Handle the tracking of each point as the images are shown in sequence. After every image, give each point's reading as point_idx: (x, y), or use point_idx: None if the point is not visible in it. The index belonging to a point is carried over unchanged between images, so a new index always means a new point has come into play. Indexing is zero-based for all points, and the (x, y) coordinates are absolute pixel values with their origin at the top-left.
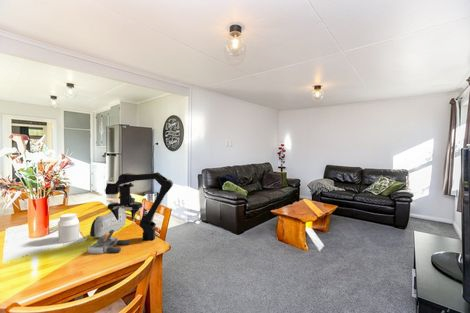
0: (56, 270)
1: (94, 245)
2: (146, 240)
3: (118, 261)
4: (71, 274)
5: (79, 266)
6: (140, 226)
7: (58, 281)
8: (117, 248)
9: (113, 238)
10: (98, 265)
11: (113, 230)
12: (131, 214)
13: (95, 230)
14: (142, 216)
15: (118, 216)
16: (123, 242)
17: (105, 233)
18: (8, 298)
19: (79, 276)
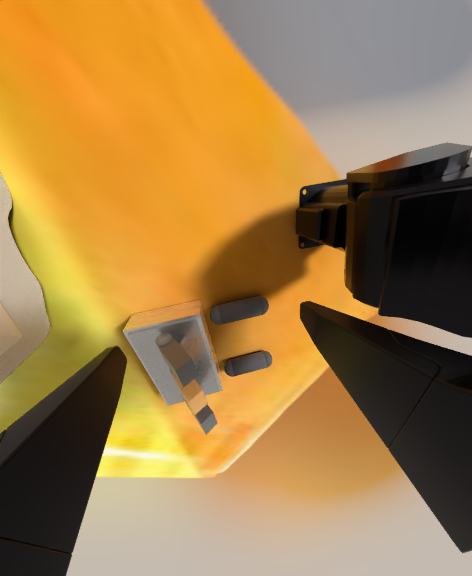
0: (184, 439)
1: (176, 394)
2: (319, 242)
3: (293, 382)
4: (231, 433)
5: (218, 419)
6: (346, 285)
7: (229, 446)
8: (265, 367)
9: (190, 330)
10: (258, 404)
11: (186, 364)
12: (360, 408)
13: (12, 364)
14: (467, 336)
15: (93, 381)
16: (246, 318)
17: (194, 412)
18: (200, 476)
19: (252, 430)
